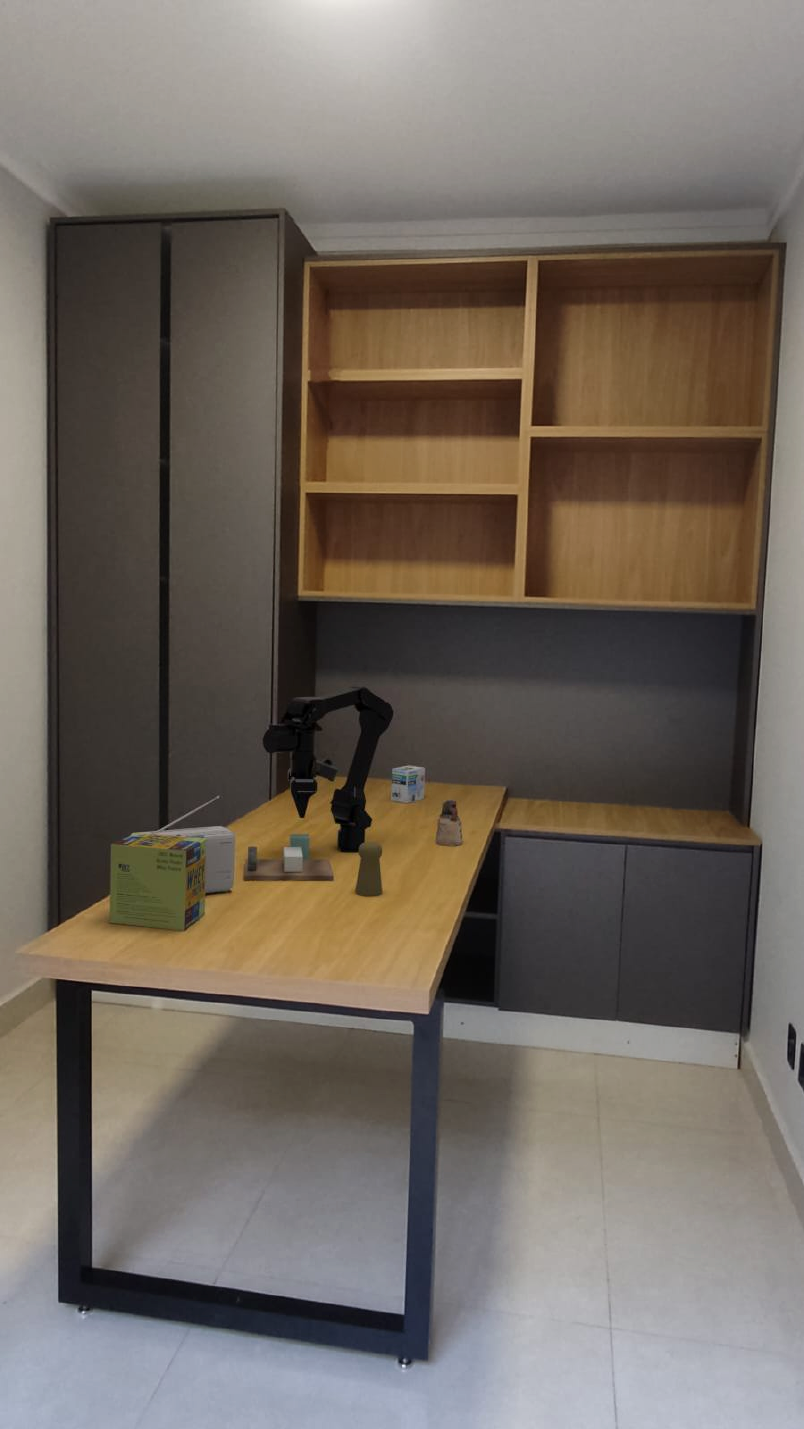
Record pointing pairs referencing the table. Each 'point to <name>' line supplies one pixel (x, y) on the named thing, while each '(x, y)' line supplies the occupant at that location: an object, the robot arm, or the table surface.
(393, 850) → the table surface
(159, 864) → the protein box
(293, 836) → the block
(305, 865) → the board
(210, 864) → the stereo radio cassette player
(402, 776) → the light bulb box
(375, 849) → the olive pepper mill
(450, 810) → the figurine
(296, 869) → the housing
